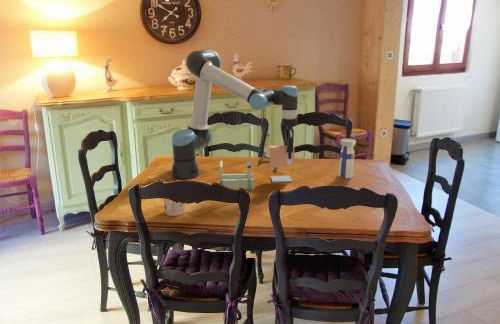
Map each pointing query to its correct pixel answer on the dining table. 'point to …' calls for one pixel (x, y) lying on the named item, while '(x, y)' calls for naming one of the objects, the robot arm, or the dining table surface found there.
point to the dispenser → (237, 178)
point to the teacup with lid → (174, 208)
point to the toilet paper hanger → (267, 158)
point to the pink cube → (279, 156)
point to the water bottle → (347, 157)
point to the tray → (281, 179)
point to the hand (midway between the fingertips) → (288, 163)
